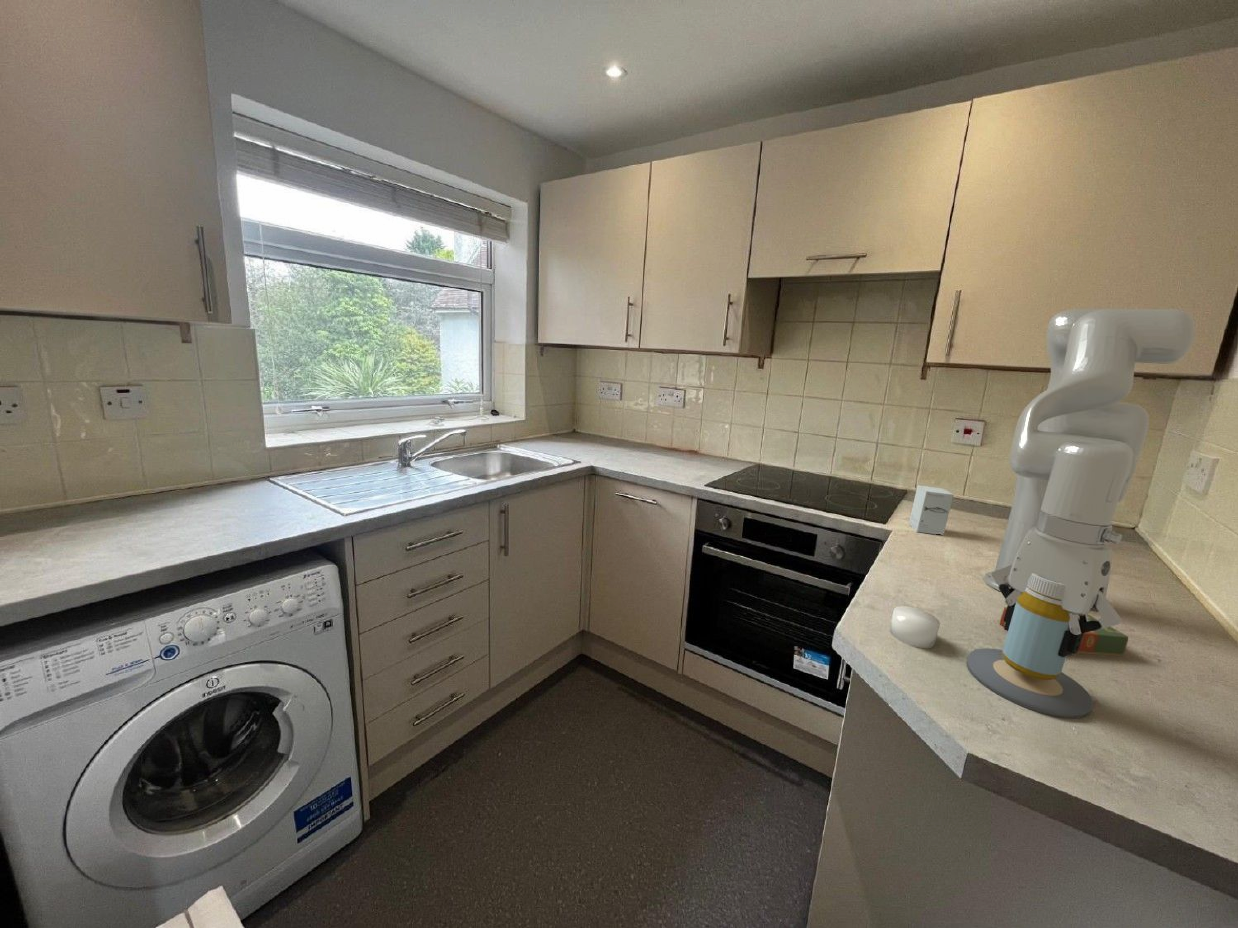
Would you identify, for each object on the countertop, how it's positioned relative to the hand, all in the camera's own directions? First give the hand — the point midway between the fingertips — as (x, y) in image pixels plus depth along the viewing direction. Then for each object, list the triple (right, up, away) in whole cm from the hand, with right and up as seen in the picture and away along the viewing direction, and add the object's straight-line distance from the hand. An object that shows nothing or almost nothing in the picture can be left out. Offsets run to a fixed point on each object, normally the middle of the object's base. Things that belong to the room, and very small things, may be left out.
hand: (1037, 640), depth 75 cm
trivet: (-1, -7, +1) cm, 7 cm away
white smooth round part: (-12, -4, +12) cm, 17 cm away
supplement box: (+28, +7, +73) cm, 78 cm away
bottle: (0, -5, +1) cm, 5 cm away
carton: (+17, -6, +16) cm, 24 cm away
